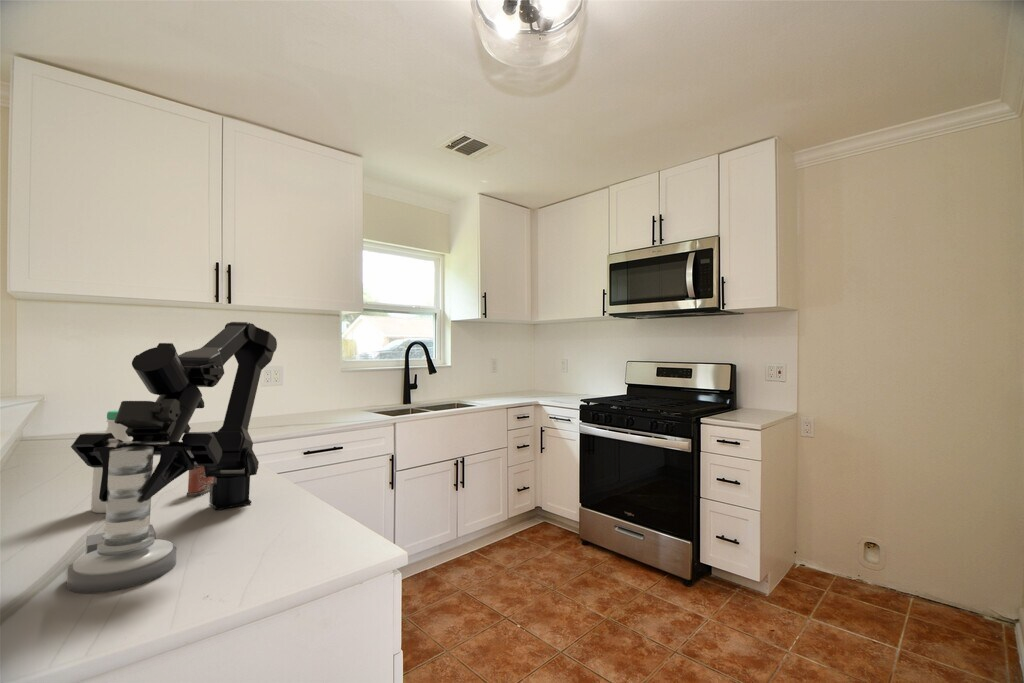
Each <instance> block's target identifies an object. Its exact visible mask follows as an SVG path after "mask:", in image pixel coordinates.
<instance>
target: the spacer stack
mask: <svg viewBox="0 0 1024 683" xmlns="http://www.w3.org/2000/svg"><path fill="white" fill-rule="evenodd" d="M153 452H154V447H151V446H133V447H123V448H117V449H113V450H110V451H109V467H108V484H107V502H106V513H105V520H104V521H105V522H104V533H105V536H104V540H102V541H100V542H99V543H98V545H97V554H99V555H103V556H116V555H123V554H128V553H133V552H137V551H140V550H143V549H145V548H148V547H150V546H151V545H153V544H154V542H155V539H156V537H155V534H154V533H153V532H149V526H150V524H151V522H150V520H151V506H152V505H151V504H152V503H151V502H152V497H151V498H150V499H148V500H147V501H143V499H142V498H141V496H142V494H143V491H144V489H145V487H146V485H147V483H148V481H149V479H150V478H151V476H152V474H153V472H154V471H153V469H154V468H153V467H154V456H153Z"/></svg>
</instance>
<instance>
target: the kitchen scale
mask: <svg viewBox="0 0 1024 683" xmlns="http://www.w3.org/2000/svg"><path fill="white" fill-rule="evenodd" d="M149 532H153V533H154V534H155V542H154V544H153V545H151V546H150V547H148V548H145V549H143V550H140V551H137V552H133V553H128V554H123V555H116V556H103V555H99V554H97V545H98V543H99V542H100V541H102V540H104V536H105V532H101V533H97V534H96V533H95V534H91V535H86V544H85V554H83V555H81V556H80V557H79V558H77V559H75V561H74V562H73V563H72V564H71V565H69V567H68V569H67V572H66V573H67V576H66V588H67V589H68V590H69V591H71V592H74V593H79V594H99V593H107V592H113V591H118V590H119V591H120V590H123V589H128V588H132V587H135V586H140V585H142V584H144V583H148V582H150V581H153V580H155V579H157V578H160V577H162V576H163V575H165V574H167V573H169V572H170V571H171V570H172V569H174V567H175V566H176V565H177V553H178V552H177V550H178V548H177V546H176V545H174V544H173V543H172V542H171V541H169V540H165V539H156V535H157V533H156V530H155V527H154V525H153V524H152V523H150V526H149Z"/></svg>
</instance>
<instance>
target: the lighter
mask: <svg viewBox="0 0 1024 683" xmlns="http://www.w3.org/2000/svg"><path fill="white" fill-rule="evenodd" d="M194 465H195V468H194V469H193V470H188V480H187V482H188V483H187V484H188V485H187V492H186V498H188V499H193V498H198V497H201V495H202V496H205V495H206V493H207V494H209V493H210V484H211V483H213V480H214V477H206V476H205V469H204V466H198V465H197V463H196V462H194ZM208 492H209V493H208ZM204 494H205V495H204Z"/></svg>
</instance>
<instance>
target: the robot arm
mask: <svg viewBox="0 0 1024 683" xmlns="http://www.w3.org/2000/svg"><path fill="white" fill-rule="evenodd" d="M277 347H278V341H277V338H276V337H275V336H274V335H273V334H272V333H271V332H270V331H268V330H266V329H263V328H260V327H257V326H256V325H255V324H254V323H251V322H249V321H230V322H227V323H226V324H225V325H224V327H223V329H222V330H221V331H219V332H218V333H217V334H216V335H215V336H214V337H212V338H211V339H210V340H209V341H207V342H206V343H205V344H204V345H202V347H200V348H198V349H193V350H189V351H185V352H183V353H181V354H178V352H177V349H176V347H175V345H174V343H173V342H170V343H169V342H159V343H158V345H157V346H155V347H152V348H149V349H146V350H143V352H140V353H139V354H136V355H135V356H134V357H133V359H132V361H131V367H132V368H133V370H134V371H135V373H136V374H137V375H138V377H139V379H140V380H141V382H142V383H143V385H144V386H145V388H146V389H147V391H148V392H149V393H151V394H153V395H155V396H157V395H158V397H157V398H156V400H155V401H152V400H122V401H121V402H120V405H119V407H118V413H117V416H116V419H115V421H114V422H115V423H116V424H119V423H120V424H122V425H124V426H126V427H128V428H127V430H126V431H125V432H126V434H127V435H128V436H129V437H133V440H132V441H122V440H120V439H116V438H115V437H114V436H113V435H112V433H105V432H85V433H80V434H79V435H78V436H77V438H76V439H75V441H73V443H71V444H72V445H71V446H70V448H71V449H72V450H73V451H74V453H76V454H77V455H78V457H79V458H80V459H81V460H82V461H83V462H84V463H85V464H86V466H87V467H89V468H90V467H91V468H93V469H94V468H99V467H102V469H103V470H102V480H101V487H100V494H99V499H100V500H101V501H102V502H105V501H107V484H108V467H109V451H110V450H113V449H117V448H123V447H133V446H151V447H154V452H153V457H154V456H159V461H158V464H157V465H156V467H155V468H154V471H152V476H151V478H150V479H149V481H148V483H147V485H146V487H145V489H144V491H143V494H142V496H141V498H142V499H143V501H147V500H148V499H150V498H151V499H152V497H154V496H155V495H156V494H158V492H160V491H161V490H163V489H164V488H165V487H166V486H168V485H169V484H170V483H171V482H173V481H174V480H176V479H177V478H179V477H180V476H182V475H183V474H185V473H187V472H189V470H193V469H194V468H195V465H194V462H196V463H197V465H198V466H204V469H205V476H206V477H214V480H213V483H211V484H210V492H209V500H208V502H209V503H210V504H209V505H211V506H212V507H213V508H214V509H215V510H216V511H217V510H223V509H230V508H234V507H235V506H236V507H240V505H241V506H246V505H245V504H247V505H251V504H252V500H251V499H250V489H251V487H250V484H251V476H256V475H257V473H258V470H259V460H258V458H257V456H256V454H255V452H254V450H253V445H254V443H253V440H252V438H251V434H250V433H249V426H250V422H251V417H252V412H253V408H254V404H255V400H256V395H257V390H258V387H259V382H260V378H261V373H262V370H263V369H264V368H266V366H268V365H269V364H270V363H271V362H272V359H273V356H274V354H275V352H276V350H277ZM233 356H234V358H235V360H236V362H237V369H236V373H235V376H234V380H233V384H232V387H231V388H232V389H231V393H230V396H229V400H228V404H227V406H226V407H227V408H226V412H225V416H224V420H223V424H222V426H221V427H220V428H219V429H218V430H217V431H211V432H210V431H209V432H208V431H205V432H204V431H203V432H202V431H201V432H200V431H199V432H195V431H194V432H193V431H192V432H190V430H191V428H192V427H190V425H189V422H190V421H191V419H192V417H193V415H194V413H195V410H196V409H203V408H205V401H204V399H203V394H202V391H201V389H200V388H214V387H215V386H217V385H218V384H219V382H220V381H221V379H222V378H223V376H224V375H225V370H224V369H225V368H224V365H225V364H226V363H227V362H228V361H229V360H230V359H231V358H232V357H233ZM180 440H181V441H180ZM250 503H251V504H250ZM236 507H235V508H236Z"/></svg>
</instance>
